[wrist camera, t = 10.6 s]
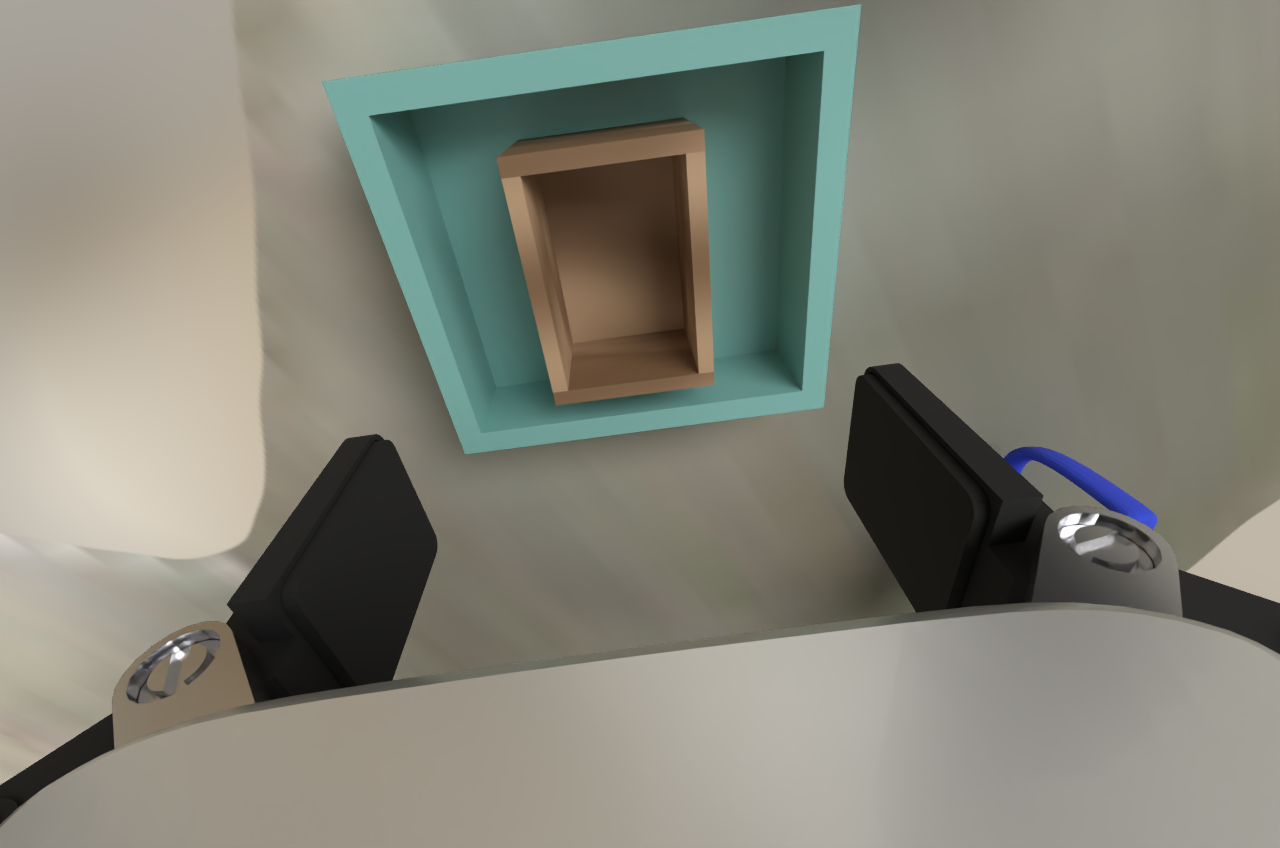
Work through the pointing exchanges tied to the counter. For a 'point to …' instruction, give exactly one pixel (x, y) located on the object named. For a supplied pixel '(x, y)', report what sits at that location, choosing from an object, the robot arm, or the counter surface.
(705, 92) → the teal crate
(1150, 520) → the mug
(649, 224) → the walnut crate
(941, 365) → the counter surface
